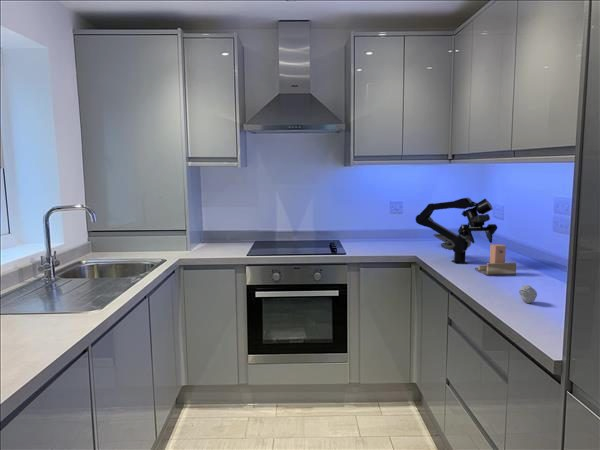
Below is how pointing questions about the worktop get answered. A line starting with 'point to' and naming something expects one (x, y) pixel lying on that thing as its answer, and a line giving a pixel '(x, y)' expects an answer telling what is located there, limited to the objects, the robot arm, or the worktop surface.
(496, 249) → the cabinet block
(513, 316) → the worktop surface
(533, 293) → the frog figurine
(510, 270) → the cleat board
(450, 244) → the zipper pull
